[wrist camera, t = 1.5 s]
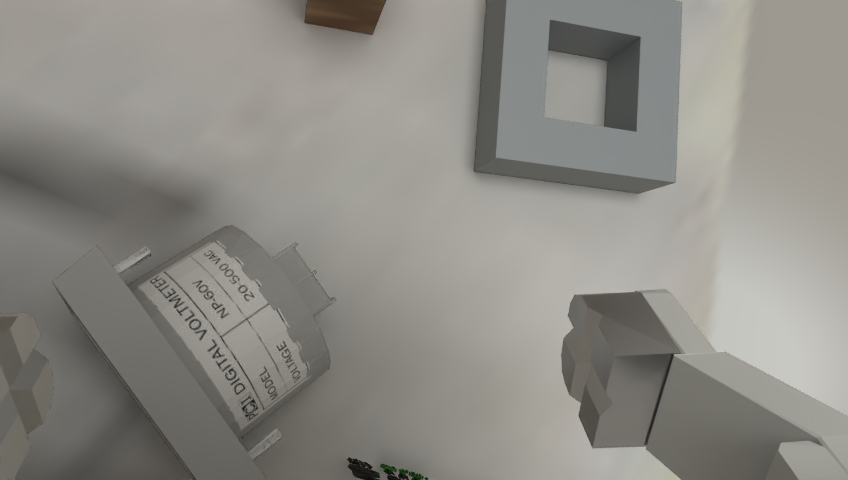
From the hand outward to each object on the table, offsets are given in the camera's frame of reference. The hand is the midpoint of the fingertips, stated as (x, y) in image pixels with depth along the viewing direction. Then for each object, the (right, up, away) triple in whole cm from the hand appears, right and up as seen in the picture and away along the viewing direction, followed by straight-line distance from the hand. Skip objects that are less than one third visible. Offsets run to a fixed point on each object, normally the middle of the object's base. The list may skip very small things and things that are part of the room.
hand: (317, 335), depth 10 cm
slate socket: (+10, +10, +27) cm, 31 cm away
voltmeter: (-3, -7, +23) cm, 24 cm away
